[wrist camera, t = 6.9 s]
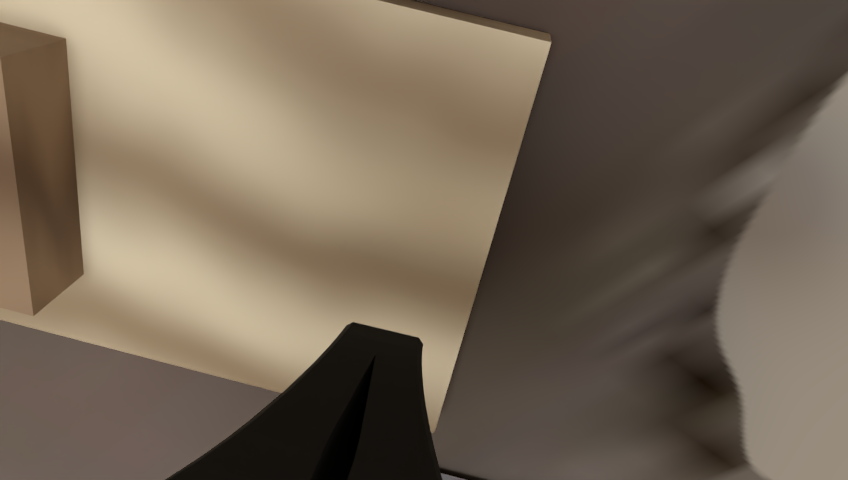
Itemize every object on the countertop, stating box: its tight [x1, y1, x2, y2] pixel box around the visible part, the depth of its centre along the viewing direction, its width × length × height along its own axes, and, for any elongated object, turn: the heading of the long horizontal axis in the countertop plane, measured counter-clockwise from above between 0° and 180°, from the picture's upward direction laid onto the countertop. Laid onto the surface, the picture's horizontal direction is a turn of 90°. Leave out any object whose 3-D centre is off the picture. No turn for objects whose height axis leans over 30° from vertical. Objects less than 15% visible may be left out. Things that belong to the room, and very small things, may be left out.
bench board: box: [0, 0, 551, 433], centre depth 20 cm, size 14×24×1 cm, turn 78°
